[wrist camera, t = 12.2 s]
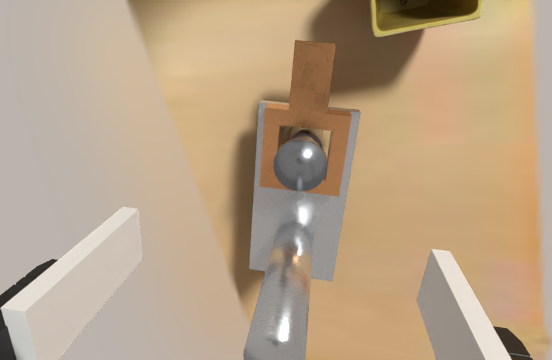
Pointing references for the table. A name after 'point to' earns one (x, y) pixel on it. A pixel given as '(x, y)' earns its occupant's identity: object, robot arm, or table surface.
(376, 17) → the flower pot
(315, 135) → the pin
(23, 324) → the robot arm
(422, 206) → the table surface
